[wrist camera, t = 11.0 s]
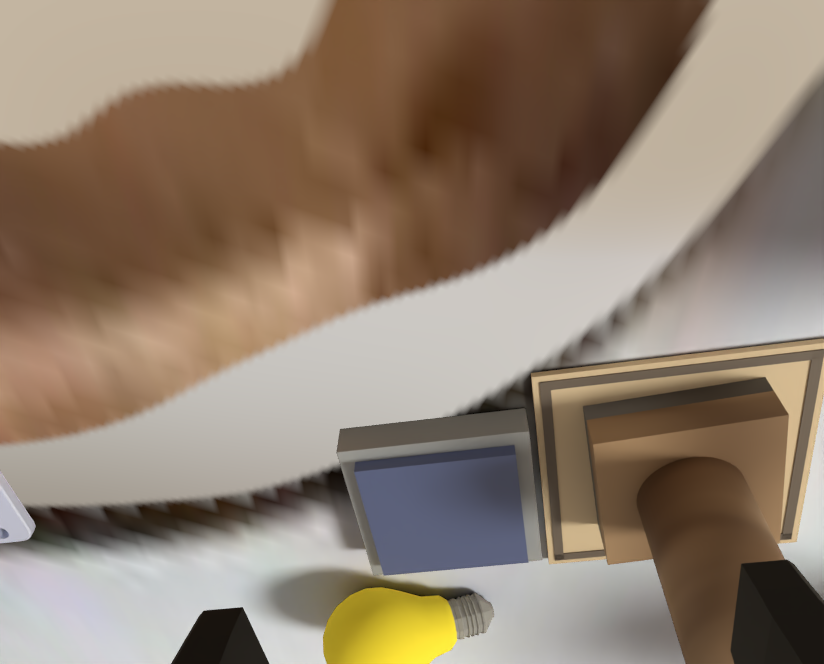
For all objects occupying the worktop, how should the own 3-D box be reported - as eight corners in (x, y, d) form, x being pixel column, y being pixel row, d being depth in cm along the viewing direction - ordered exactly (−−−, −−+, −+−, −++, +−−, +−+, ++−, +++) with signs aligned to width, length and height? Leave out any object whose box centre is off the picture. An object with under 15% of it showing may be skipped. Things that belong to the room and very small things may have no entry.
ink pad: (375, 550, 25) (372, 585, 24) (340, 429, 22) (335, 462, 21) (538, 535, 24) (544, 570, 23) (525, 407, 21) (530, 441, 20)
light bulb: (310, 581, 26) (322, 645, 23) (471, 541, 27) (505, 597, 24) (324, 660, 27) (338, 734, 23) (479, 619, 28) (513, 683, 25)
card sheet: (548, 559, 25) (549, 565, 25) (530, 373, 21) (531, 378, 20) (793, 537, 24) (796, 542, 24) (830, 337, 20) (833, 342, 19)
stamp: (597, 524, 24) (647, 722, 18) (582, 405, 21) (634, 599, 16) (759, 502, 23) (859, 701, 18) (765, 376, 20) (885, 568, 15)
